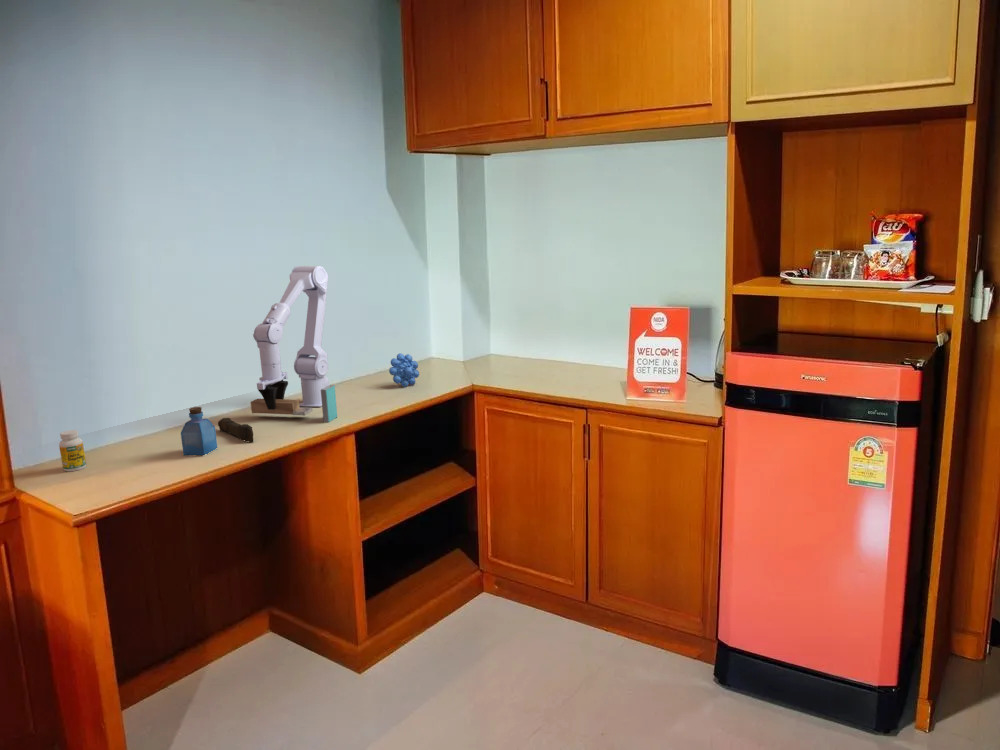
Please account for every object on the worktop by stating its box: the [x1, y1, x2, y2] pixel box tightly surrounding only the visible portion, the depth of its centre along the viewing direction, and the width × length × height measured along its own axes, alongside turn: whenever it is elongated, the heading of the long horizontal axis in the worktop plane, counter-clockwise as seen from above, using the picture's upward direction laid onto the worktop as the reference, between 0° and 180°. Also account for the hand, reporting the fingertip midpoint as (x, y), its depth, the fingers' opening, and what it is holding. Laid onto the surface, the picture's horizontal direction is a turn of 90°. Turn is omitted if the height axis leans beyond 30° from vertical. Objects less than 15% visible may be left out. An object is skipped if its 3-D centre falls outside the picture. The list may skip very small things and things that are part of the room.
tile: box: [321, 384, 338, 424], centre depth 244 cm, size 6×2×10 cm, turn 165°
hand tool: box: [217, 417, 254, 443], centre depth 232 cm, size 19×4×5 cm, turn 38°
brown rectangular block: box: [250, 398, 314, 416], centre depth 249 cm, size 5×18×4 cm, turn 75°
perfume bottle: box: [180, 406, 218, 456], centre depth 217 cm, size 6×6×12 cm
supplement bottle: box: [58, 429, 87, 472], centre depth 208 cm, size 5×5×10 cm
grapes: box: [388, 353, 420, 388], centre depth 281 cm, size 12×7×12 cm, turn 128°
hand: (275, 407), depth 249 cm, fingers closed on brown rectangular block, 4 cm apart
